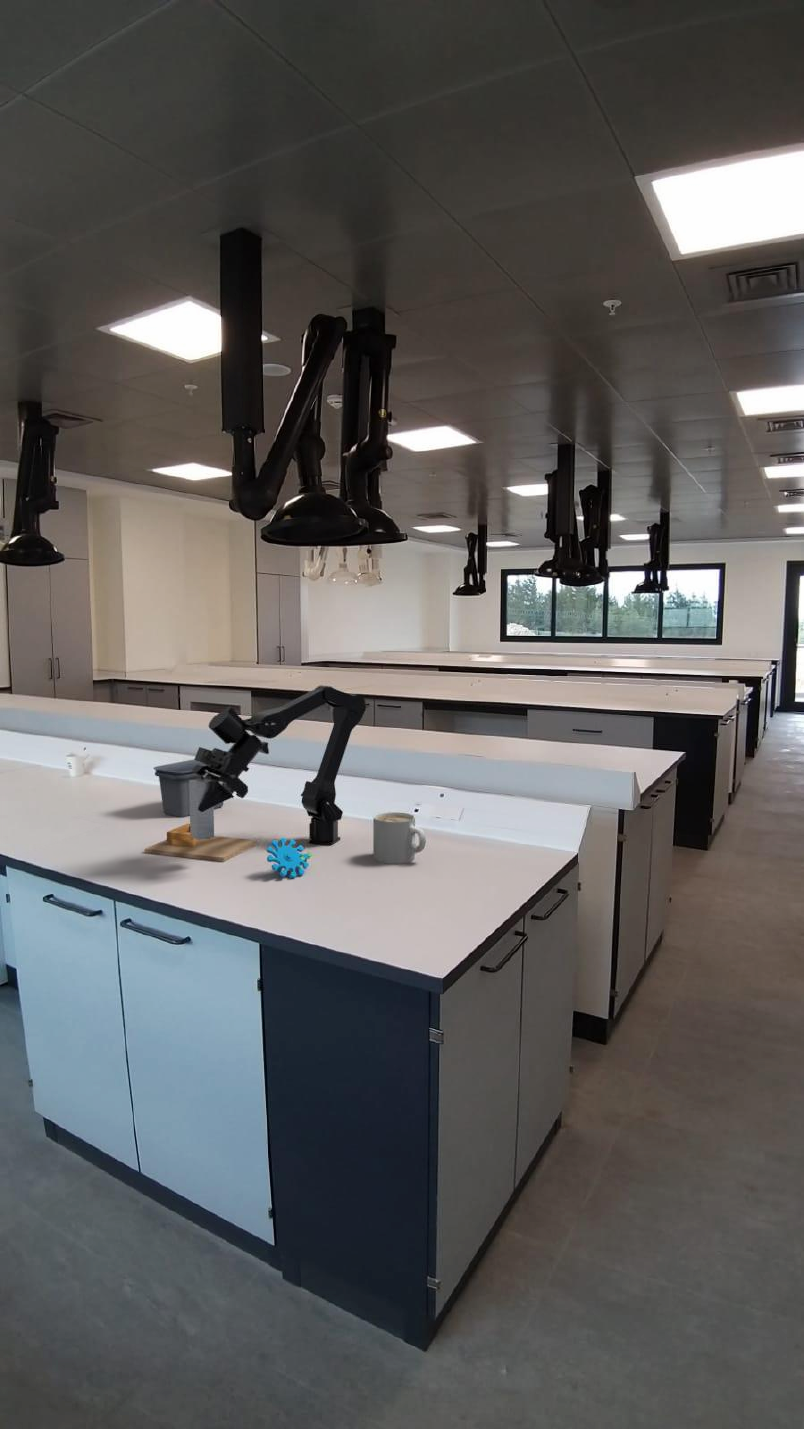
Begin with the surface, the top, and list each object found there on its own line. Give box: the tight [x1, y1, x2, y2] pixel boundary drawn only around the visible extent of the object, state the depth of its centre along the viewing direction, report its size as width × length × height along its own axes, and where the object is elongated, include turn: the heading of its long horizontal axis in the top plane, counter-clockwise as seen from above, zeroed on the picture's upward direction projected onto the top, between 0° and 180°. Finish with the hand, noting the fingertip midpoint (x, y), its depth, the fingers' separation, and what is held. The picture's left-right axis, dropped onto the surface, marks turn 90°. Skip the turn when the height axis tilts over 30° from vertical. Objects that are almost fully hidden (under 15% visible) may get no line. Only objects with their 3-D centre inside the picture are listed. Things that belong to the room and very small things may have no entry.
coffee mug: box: [372, 811, 427, 865], centre depth 180 cm, size 13×10×10 cm
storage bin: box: [152, 759, 224, 818], centre depth 227 cm, size 21×16×14 cm
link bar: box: [189, 778, 215, 840], centre depth 173 cm, size 4×4×13 cm
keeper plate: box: [144, 823, 258, 863], centre depth 188 cm, size 22×16×4 cm
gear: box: [266, 837, 313, 879], centre depth 169 cm, size 11×6×10 cm
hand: (195, 809), depth 172 cm, fingers closed on link bar, 4 cm apart
